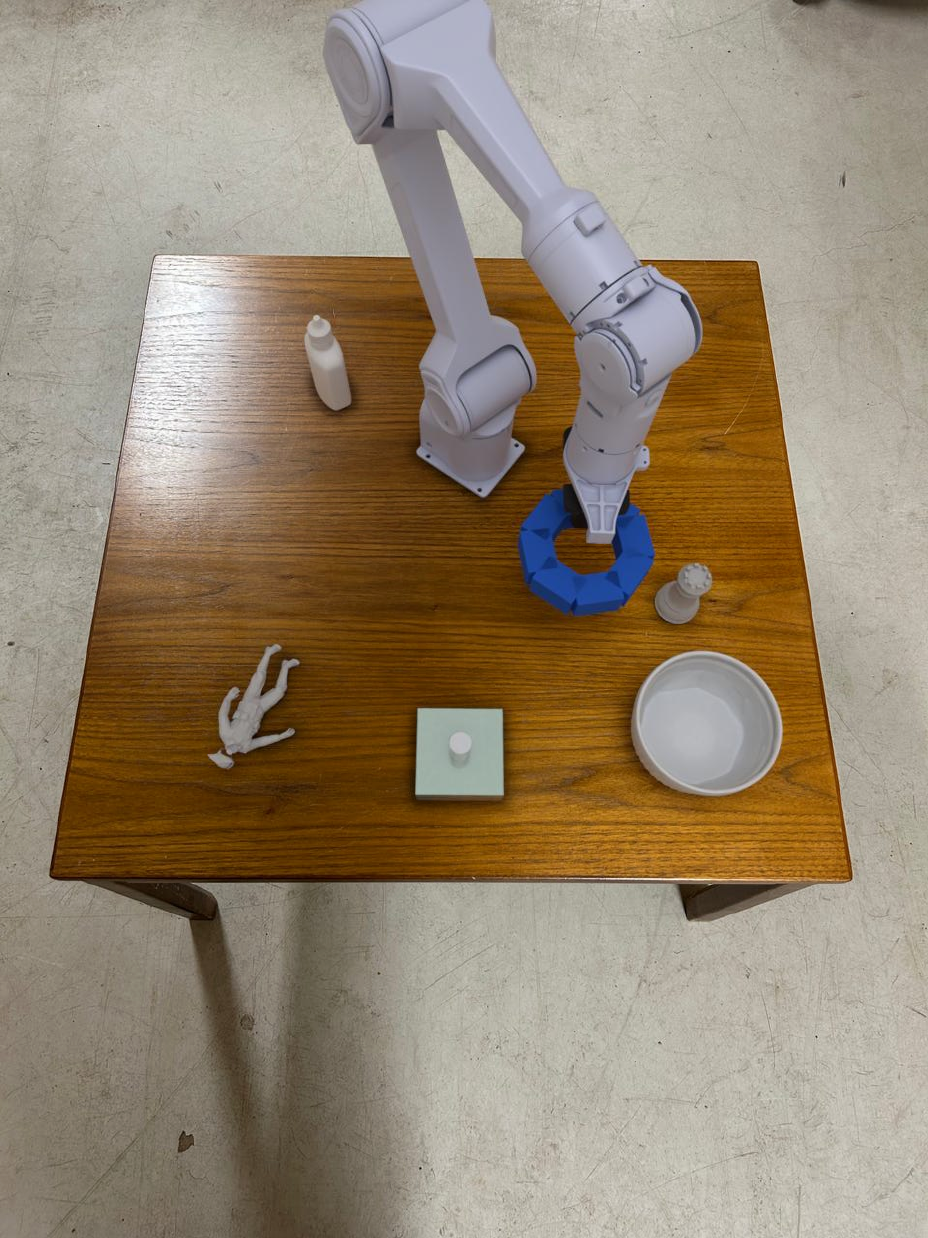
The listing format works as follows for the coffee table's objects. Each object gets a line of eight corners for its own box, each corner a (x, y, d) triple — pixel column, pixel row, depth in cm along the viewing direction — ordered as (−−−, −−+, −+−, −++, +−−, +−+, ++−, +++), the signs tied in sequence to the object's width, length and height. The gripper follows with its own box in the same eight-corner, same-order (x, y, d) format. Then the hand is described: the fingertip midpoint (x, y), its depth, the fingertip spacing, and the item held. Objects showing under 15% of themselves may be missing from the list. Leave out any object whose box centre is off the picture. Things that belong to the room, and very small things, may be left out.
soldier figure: (322, 678, 78) (276, 783, 71) (292, 687, 81) (245, 789, 74) (266, 631, 74) (211, 738, 67) (236, 643, 77) (180, 746, 70)
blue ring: (495, 568, 72) (497, 555, 69) (564, 480, 75) (568, 464, 73) (601, 638, 69) (607, 627, 67) (667, 544, 73) (675, 530, 70)
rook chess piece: (694, 629, 80) (719, 601, 72) (650, 620, 80) (672, 592, 73) (698, 589, 81) (723, 558, 74) (656, 581, 82) (677, 549, 74)
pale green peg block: (416, 800, 73) (413, 789, 66) (418, 717, 76) (415, 697, 69) (501, 800, 74) (507, 789, 66) (500, 717, 76) (506, 698, 69)
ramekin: (629, 808, 74) (647, 799, 67) (611, 674, 78) (626, 653, 72) (766, 798, 74) (797, 789, 68) (740, 666, 79) (767, 645, 72)
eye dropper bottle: (353, 371, 90) (339, 295, 78) (351, 412, 88) (337, 340, 77) (315, 370, 90) (296, 294, 78) (312, 412, 88) (292, 340, 76)
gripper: (667, 508, 57) (628, 580, 70) (659, 348, 62) (624, 442, 75) (572, 504, 57) (550, 577, 70) (571, 344, 62) (551, 439, 75)
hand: (583, 507), depth 73 cm, fingers closed on blue ring, 3 cm apart
